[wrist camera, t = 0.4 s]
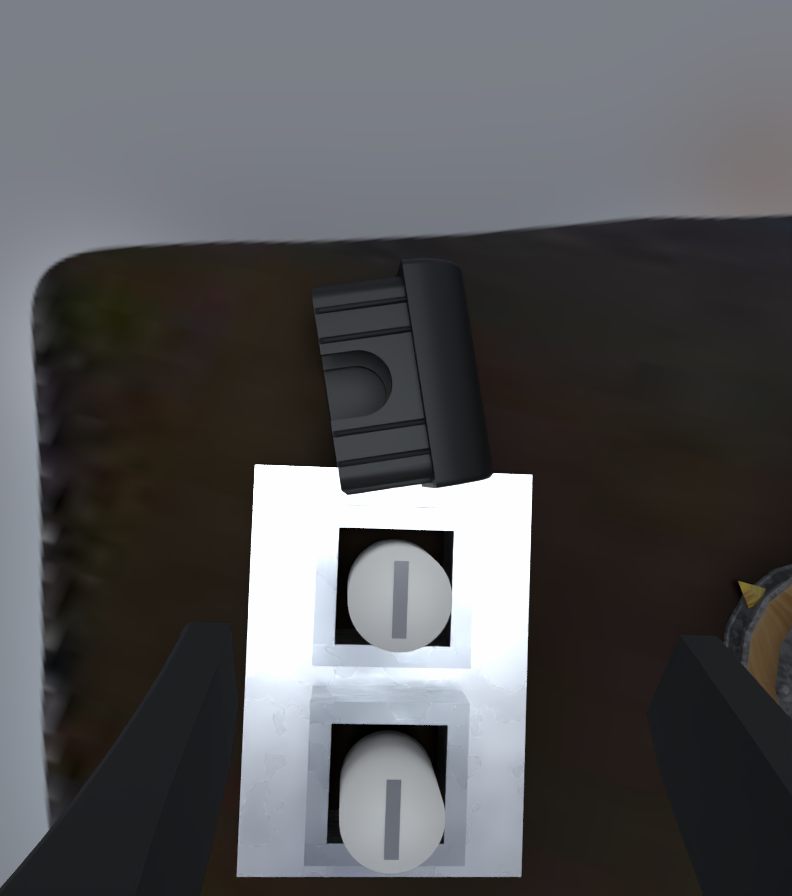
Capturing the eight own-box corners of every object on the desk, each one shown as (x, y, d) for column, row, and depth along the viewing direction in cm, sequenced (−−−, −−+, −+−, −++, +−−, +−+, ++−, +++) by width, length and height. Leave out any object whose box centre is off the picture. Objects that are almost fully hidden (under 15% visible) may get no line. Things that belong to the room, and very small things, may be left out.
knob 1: (438, 632, 35) (451, 654, 31) (345, 630, 35) (345, 651, 30) (441, 540, 35) (454, 548, 31) (349, 537, 35) (349, 545, 30)
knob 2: (431, 825, 34) (444, 874, 30) (338, 825, 34) (336, 874, 30) (435, 730, 35) (447, 766, 30) (341, 729, 34) (341, 765, 30)
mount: (516, 866, 37) (534, 905, 34) (239, 865, 36) (228, 906, 33) (527, 474, 38) (545, 474, 35) (257, 465, 37) (248, 463, 34)
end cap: (478, 477, 38) (507, 477, 31) (343, 498, 38) (342, 502, 31) (448, 289, 38) (471, 249, 32) (314, 307, 38) (308, 270, 31)
